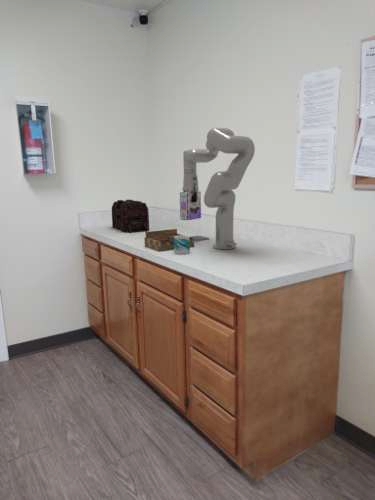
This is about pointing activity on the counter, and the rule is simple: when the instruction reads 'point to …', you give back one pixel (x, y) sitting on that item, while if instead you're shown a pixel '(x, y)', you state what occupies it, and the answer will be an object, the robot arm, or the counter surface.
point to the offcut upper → (172, 239)
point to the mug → (181, 244)
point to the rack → (162, 239)
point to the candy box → (190, 206)
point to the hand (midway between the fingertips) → (190, 201)
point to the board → (200, 238)
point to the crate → (130, 216)
